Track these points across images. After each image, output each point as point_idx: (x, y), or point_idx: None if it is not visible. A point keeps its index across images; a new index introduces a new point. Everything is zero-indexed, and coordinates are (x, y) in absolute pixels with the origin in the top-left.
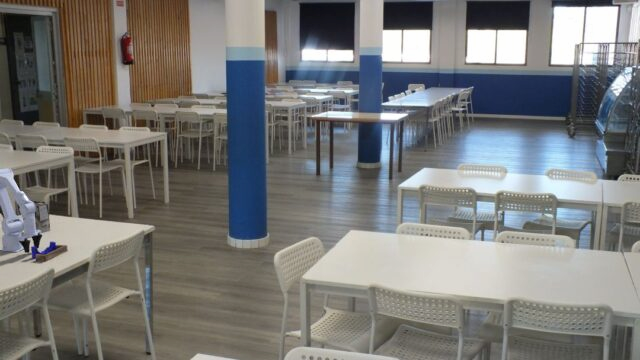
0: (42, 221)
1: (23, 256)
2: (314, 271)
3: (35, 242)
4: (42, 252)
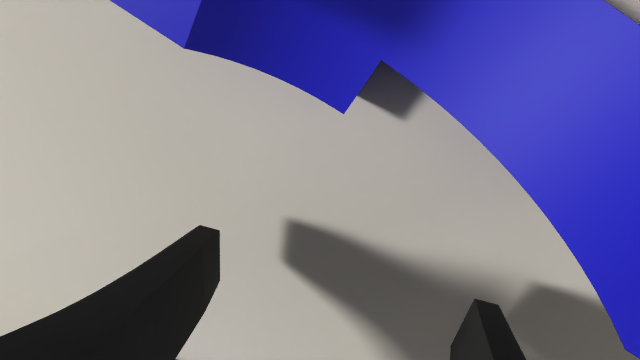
0: None
1: None
2: None
3: (152, 354)
4: (395, 57)
